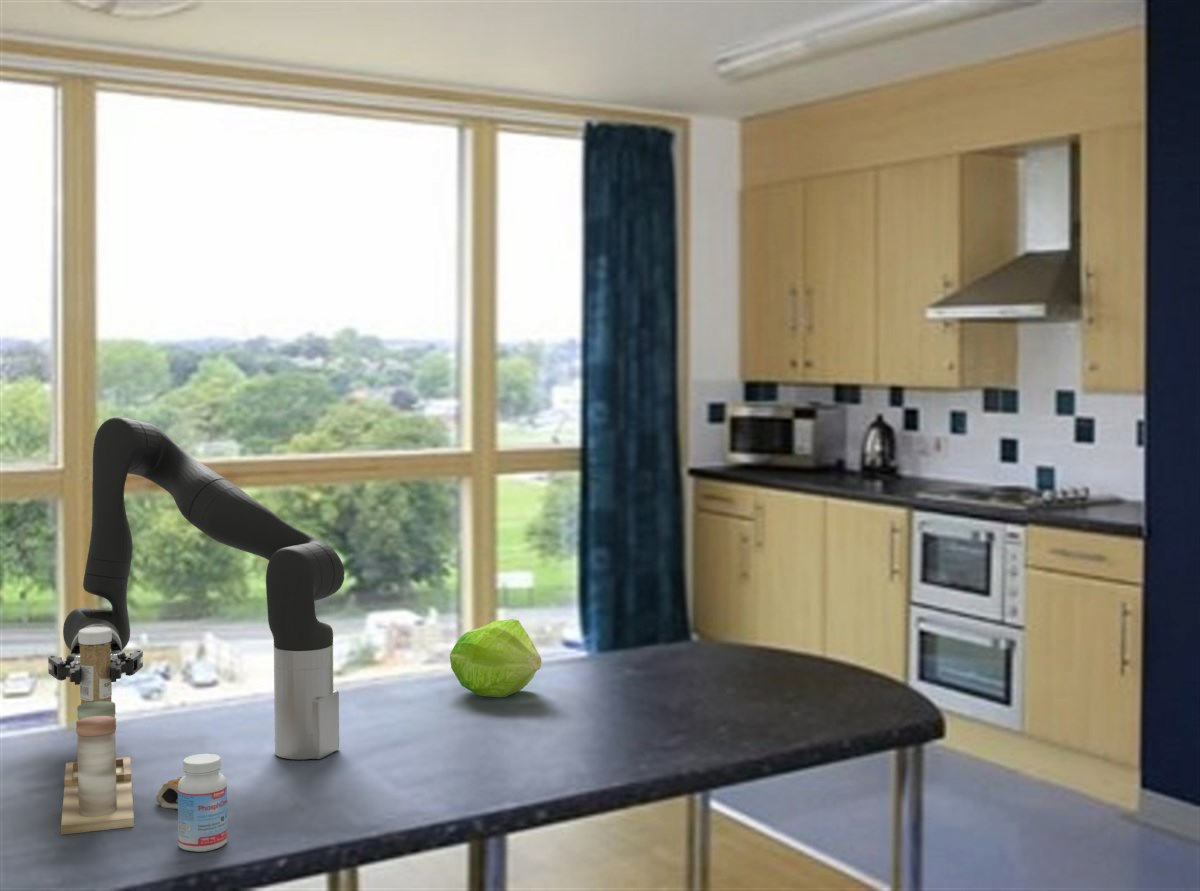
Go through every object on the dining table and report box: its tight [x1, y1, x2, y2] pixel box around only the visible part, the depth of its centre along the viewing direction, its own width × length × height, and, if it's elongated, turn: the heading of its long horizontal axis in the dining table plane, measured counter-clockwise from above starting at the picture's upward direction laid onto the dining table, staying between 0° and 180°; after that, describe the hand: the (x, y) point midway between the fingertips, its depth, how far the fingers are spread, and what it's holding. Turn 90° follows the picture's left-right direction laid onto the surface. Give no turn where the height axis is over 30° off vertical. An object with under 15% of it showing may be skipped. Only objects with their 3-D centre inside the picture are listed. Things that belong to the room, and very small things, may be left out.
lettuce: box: [449, 618, 542, 698], centre depth 248 cm, size 15×20×14 cm
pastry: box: [155, 776, 183, 811], centre depth 188 cm, size 9×7×4 cm
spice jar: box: [78, 627, 113, 705], centre depth 194 cm, size 5×5×14 cm
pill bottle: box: [177, 753, 228, 853], centre depth 170 cm, size 6×6×11 cm
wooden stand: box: [60, 701, 135, 835], centre depth 187 cm, size 26×9×14 cm, turn 21°
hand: (95, 676), depth 192 cm, fingers closed on spice jar, 4 cm apart
